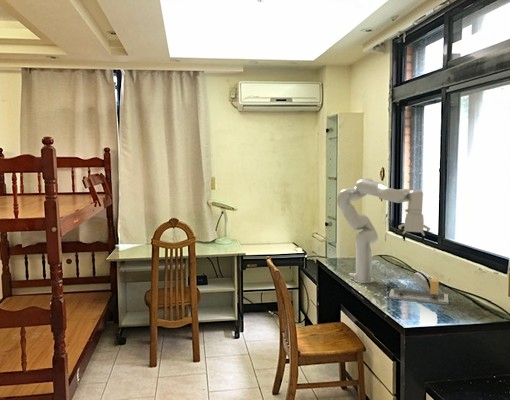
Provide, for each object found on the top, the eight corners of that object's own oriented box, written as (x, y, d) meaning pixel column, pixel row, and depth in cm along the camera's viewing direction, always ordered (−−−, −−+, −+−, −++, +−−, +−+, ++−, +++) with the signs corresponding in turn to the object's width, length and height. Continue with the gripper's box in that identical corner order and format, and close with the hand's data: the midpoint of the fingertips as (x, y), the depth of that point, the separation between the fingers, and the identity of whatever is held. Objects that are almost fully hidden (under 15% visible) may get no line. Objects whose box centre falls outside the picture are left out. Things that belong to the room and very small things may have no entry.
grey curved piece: (437, 290, 251) (431, 275, 250) (429, 293, 251) (424, 278, 250) (424, 282, 268) (419, 267, 267) (417, 285, 268) (412, 270, 267)
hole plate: (388, 298, 239) (389, 295, 239) (391, 291, 252) (391, 288, 252) (448, 304, 228) (448, 302, 228) (447, 296, 241) (447, 294, 241)
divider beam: (393, 294, 242) (393, 289, 242) (394, 290, 249) (394, 285, 249) (444, 299, 232) (444, 294, 232) (443, 295, 239) (444, 290, 239)
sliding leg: (430, 297, 235) (430, 281, 234) (430, 293, 242) (430, 277, 241) (438, 298, 234) (438, 282, 233) (437, 294, 240) (438, 278, 240)
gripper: (398, 211, 249) (396, 241, 251) (431, 213, 242) (429, 244, 244) (399, 210, 255) (398, 238, 257) (431, 212, 249) (429, 241, 251)
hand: (413, 241), depth 251 cm, fingers open, 9 cm apart
